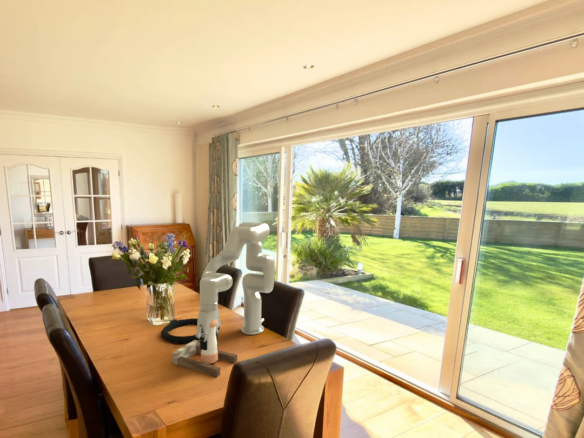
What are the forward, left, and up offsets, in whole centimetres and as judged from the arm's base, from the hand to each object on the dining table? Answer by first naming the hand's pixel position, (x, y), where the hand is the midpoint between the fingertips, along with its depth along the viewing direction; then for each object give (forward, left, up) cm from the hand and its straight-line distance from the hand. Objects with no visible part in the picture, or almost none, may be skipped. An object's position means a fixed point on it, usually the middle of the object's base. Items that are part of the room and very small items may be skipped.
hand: (209, 345), depth 138 cm
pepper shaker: (0, 0, -6) cm, 6 cm away
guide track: (0, -2, -8) cm, 8 cm away
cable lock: (-21, -32, -9) cm, 39 cm away
